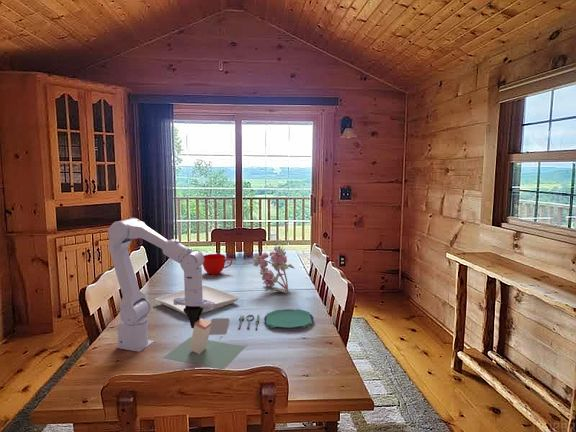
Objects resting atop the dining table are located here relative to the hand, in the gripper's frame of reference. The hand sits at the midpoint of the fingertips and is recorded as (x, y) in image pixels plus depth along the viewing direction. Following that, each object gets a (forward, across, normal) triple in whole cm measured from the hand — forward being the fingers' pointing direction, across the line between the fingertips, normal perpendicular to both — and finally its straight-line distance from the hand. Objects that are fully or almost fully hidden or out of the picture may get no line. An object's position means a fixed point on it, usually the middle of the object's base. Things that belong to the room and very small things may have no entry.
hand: (194, 327), depth 131 cm
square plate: (+9, +23, -39) cm, 46 cm away
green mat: (+8, -4, 0) cm, 9 cm away
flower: (+9, -1, -70) cm, 71 cm away
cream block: (+8, -1, 0) cm, 8 cm away
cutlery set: (+9, -17, -32) cm, 38 cm away
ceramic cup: (+9, +39, -86) cm, 95 cm away
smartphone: (+9, +2, -20) cm, 22 cm away
